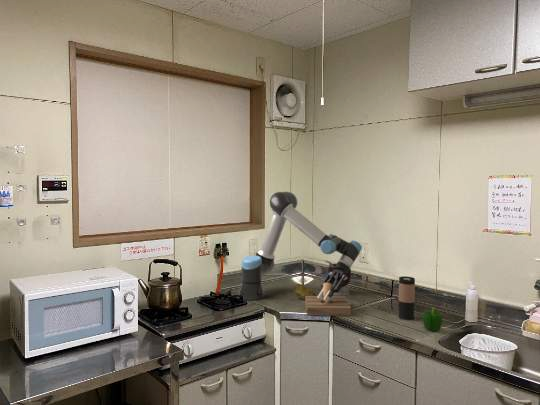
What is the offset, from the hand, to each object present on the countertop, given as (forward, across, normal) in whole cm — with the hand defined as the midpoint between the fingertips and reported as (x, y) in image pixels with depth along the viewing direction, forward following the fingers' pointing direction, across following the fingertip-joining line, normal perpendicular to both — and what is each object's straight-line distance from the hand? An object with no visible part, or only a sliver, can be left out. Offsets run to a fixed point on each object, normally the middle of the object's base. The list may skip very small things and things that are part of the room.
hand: (321, 300), depth 219 cm
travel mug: (-13, -34, -21) cm, 43 cm away
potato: (-1, +22, -9) cm, 24 cm away
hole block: (+1, 0, -6) cm, 6 cm away
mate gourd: (-20, +20, -28) cm, 39 cm away
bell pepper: (-9, -52, -17) cm, 56 cm away
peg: (0, 0, -5) cm, 5 cm away
